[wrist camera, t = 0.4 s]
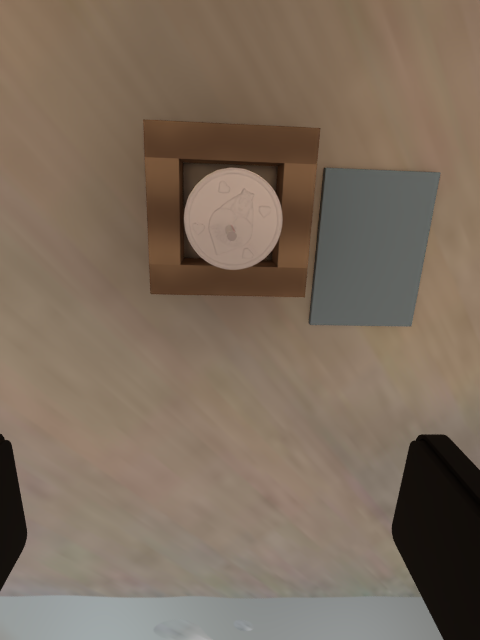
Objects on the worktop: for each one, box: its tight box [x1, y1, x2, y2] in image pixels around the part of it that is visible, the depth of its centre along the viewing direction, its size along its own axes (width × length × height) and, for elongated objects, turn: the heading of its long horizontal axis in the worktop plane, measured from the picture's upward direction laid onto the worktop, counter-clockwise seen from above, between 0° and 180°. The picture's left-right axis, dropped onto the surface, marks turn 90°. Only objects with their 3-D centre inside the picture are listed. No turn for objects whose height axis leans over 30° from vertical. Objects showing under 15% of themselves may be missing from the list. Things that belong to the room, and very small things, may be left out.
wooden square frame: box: [143, 120, 320, 297], centre depth 31 cm, size 13×13×4 cm
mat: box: [309, 168, 440, 326], centre depth 34 cm, size 14×10×1 cm
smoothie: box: [184, 167, 283, 270], centre depth 26 cm, size 6×6×14 cm
